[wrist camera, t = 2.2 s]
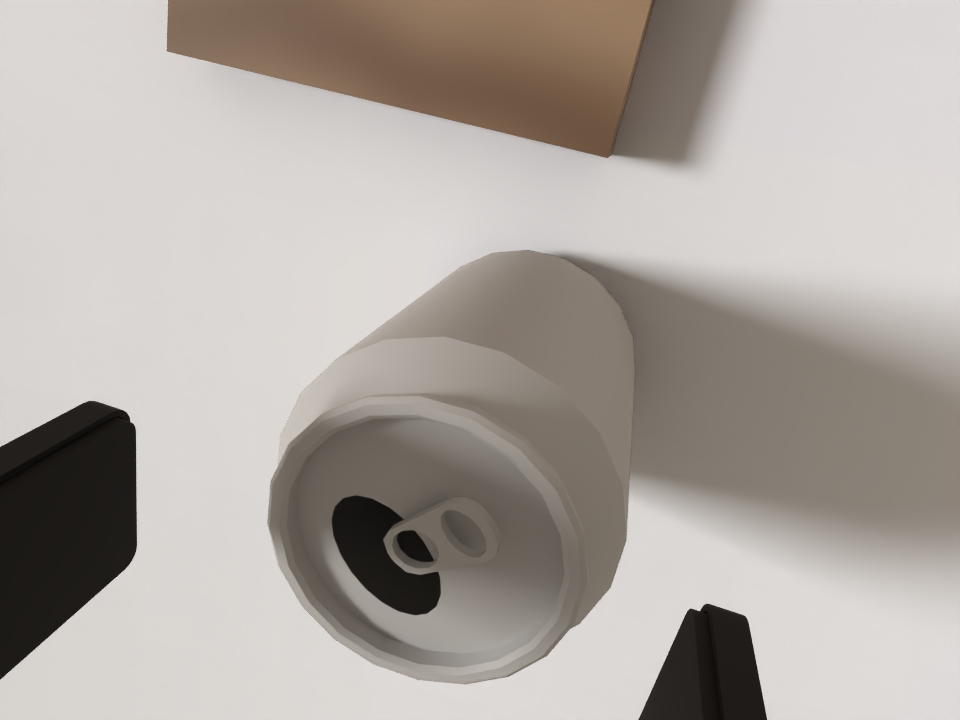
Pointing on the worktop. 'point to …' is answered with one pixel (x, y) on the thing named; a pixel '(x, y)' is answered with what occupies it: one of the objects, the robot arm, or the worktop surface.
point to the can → (463, 473)
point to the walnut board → (440, 56)
